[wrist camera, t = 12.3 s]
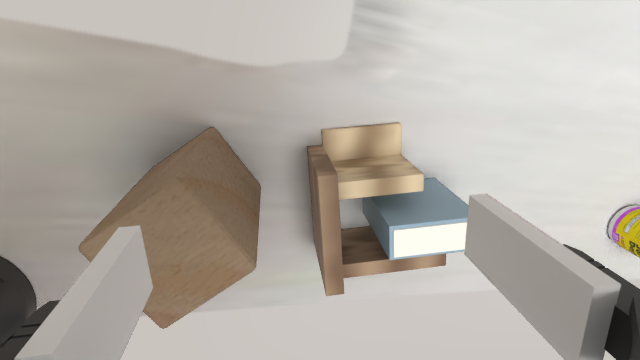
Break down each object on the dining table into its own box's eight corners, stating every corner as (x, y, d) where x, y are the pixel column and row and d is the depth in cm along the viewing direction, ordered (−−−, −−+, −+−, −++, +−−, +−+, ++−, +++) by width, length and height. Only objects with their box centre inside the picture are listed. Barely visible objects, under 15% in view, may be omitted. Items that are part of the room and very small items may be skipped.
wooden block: (262, 187, 52) (258, 270, 33) (200, 229, 52) (162, 333, 34) (213, 124, 48) (177, 177, 29) (148, 170, 49) (73, 249, 30)
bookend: (324, 174, 52) (335, 200, 43) (321, 129, 50) (332, 147, 41) (398, 167, 53) (423, 190, 44) (398, 122, 51) (424, 138, 42)
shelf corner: (314, 244, 55) (326, 296, 44) (307, 146, 50) (317, 176, 39) (419, 232, 56) (456, 279, 45) (421, 135, 52) (463, 161, 40)
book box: (363, 212, 54) (390, 261, 42) (362, 184, 53) (390, 227, 41) (433, 204, 55) (480, 250, 43) (434, 177, 54) (482, 217, 42)
